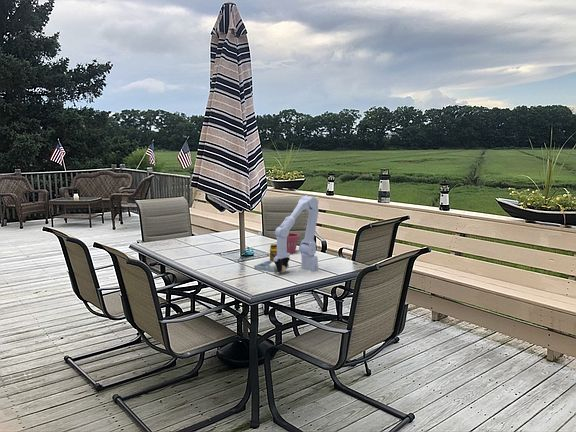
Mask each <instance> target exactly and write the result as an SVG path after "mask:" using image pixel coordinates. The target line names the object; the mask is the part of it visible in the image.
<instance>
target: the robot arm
mask: <svg viewBox="0 0 576 432" xmlns="http://www.w3.org/2000/svg"><path fill="white" fill-rule="evenodd" d="M304 210H306V211H308V215H307V221H306V222H307V223H306V228H305V233H304V238H303V239H302V240H301V241H300V244H299V246H298V250H299V252H300V254H301V269H302V270H307V271H308V270H309V271H313V272H314V271H317V270H319V259H318V256H316V252H317V246H316V245H317V243H316V241H315V236H316V228H317V222H318V217H319V210H320V209H319V200H318V198H317V197H316V196H310V195H302V196H301V197H300V198H299V200H298V202H297V205H296V206H295V207H294V209H293V211H292V212H291V214H290V215H289V216H286V217H285V218H284V220H283V222H281V224H280V225H279V226H278V227H276V228H275V230H274V232H273V233H274V235H275V237H276V244H277V255H276V256H275V257H274V263H275V264H276V267H277V271H278V272H277V273H280V272H282V265H284V266H285V267H286V269H287V268H288V267H287V264H289V262H290V260H291V257H290V256H291V254H290V253H287V236H288V235H289V233H290V230H291V229H292V227H293V226H294V225H295V223H296V219H297V218H298V216H300V214H301V213H302V212H303V211H304Z"/></svg>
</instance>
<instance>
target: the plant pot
mask: <svg viewBox="0 0 576 432" xmlns="http://www.w3.org/2000/svg"><path fill="white" fill-rule="evenodd" d="M299 235H300V234H298V233H296V232H295V233H294V232H289V235H288V236H287V253H290V255H292V254H295V253H296V251H297V245H298V241H299V240H300V236H299Z"/></svg>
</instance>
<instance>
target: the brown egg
mask: <svg viewBox="0 0 576 432" xmlns="http://www.w3.org/2000/svg"><path fill="white" fill-rule="evenodd" d="M286 272H287V268H286V267H285V266H284V265H282V272H279V274H285V273H286Z"/></svg>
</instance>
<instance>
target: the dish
mask: <svg viewBox="0 0 576 432" xmlns="http://www.w3.org/2000/svg"><path fill="white" fill-rule="evenodd" d="M289 273H290V272H289V271H287V272H284V273H280V275H283V276H284V275H287V274H289ZM274 274H276V275H279V272H274Z"/></svg>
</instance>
